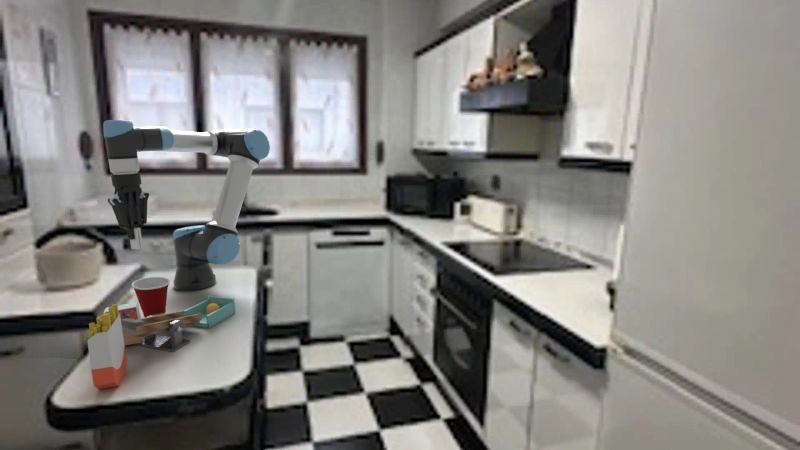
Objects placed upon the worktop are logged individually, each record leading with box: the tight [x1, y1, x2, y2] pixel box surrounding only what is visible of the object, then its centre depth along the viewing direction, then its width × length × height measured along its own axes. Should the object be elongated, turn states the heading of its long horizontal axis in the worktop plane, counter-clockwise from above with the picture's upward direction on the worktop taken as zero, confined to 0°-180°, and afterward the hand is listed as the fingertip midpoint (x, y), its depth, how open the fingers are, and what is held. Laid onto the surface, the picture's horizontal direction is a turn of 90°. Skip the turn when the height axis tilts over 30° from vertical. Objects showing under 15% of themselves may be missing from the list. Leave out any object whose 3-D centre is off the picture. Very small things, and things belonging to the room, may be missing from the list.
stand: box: [136, 316, 191, 353], centre depth 122 cm, size 6×13×7 cm, turn 72°
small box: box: [102, 301, 144, 346], centre depth 122 cm, size 8×6×10 cm
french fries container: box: [87, 303, 127, 390], centre depth 102 cm, size 5×11×18 cm, turn 20°
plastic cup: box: [131, 276, 171, 318], centre depth 140 cm, size 11×11×12 cm
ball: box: [206, 303, 220, 315], centre depth 140 cm, size 4×4×4 cm
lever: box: [121, 310, 202, 339], centre depth 123 cm, size 22×15×4 cm
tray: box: [183, 295, 236, 329], centre depth 139 cm, size 12×10×5 cm
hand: (137, 248), depth 136 cm, fingers closed
